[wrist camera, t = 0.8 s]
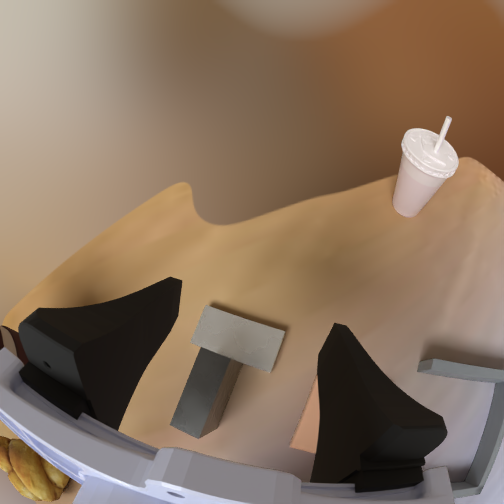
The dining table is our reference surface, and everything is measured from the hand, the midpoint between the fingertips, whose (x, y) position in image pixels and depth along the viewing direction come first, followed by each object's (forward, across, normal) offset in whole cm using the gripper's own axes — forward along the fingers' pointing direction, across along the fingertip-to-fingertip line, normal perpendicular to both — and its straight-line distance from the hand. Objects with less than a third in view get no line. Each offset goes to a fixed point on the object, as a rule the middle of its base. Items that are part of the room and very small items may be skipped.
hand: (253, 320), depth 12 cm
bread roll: (-7, +19, +32) cm, 38 cm away
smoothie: (+22, -15, -5) cm, 27 cm away
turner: (+7, +1, +12) cm, 14 cm away
